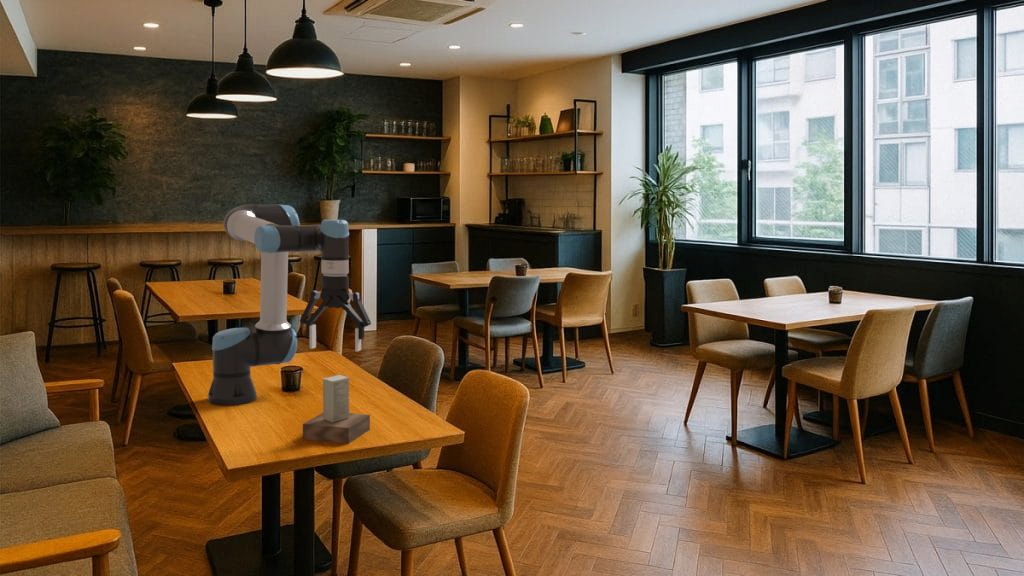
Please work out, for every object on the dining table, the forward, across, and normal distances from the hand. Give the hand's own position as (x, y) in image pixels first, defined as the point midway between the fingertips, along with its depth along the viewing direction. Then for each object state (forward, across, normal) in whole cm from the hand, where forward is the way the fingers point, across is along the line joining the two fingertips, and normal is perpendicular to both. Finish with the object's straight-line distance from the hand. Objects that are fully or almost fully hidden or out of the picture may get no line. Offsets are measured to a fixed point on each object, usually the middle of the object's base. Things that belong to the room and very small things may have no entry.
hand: (335, 349), depth 228 cm
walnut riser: (+25, 0, 0) cm, 25 cm away
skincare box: (+20, 0, 0) cm, 20 cm away
